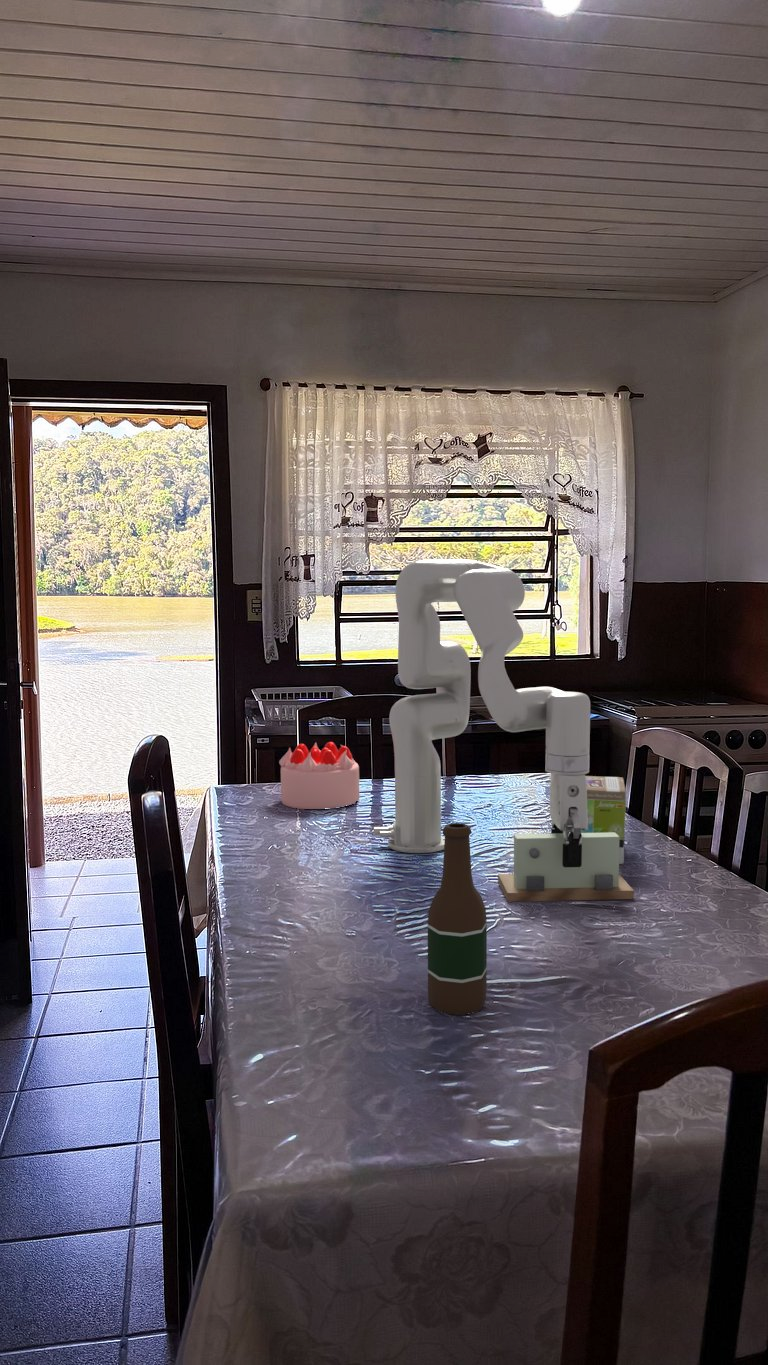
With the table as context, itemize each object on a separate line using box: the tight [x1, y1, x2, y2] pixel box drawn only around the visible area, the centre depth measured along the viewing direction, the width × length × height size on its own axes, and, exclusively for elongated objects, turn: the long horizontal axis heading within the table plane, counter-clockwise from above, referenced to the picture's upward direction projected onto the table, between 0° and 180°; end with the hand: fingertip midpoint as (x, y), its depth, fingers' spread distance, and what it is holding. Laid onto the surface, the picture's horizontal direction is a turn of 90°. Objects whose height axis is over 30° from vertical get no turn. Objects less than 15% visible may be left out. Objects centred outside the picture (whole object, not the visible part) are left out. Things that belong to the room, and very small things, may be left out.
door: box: [513, 832, 620, 889], centre depth 173 cm, size 18×4×9 cm, turn 92°
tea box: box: [581, 775, 627, 865], centre depth 199 cm, size 15×10×15 cm, turn 168°
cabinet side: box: [497, 873, 635, 902], centre depth 176 cm, size 22×11×2 cm, turn 92°
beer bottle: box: [427, 822, 488, 1016], centre depth 128 cm, size 8×8×24 cm
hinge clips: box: [526, 875, 613, 892], centre depth 174 cm, size 15×6×2 cm, turn 92°
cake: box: [278, 741, 360, 810], centre depth 248 cm, size 20×20×14 cm
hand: (565, 858), depth 174 cm, fingers open, 9 cm apart
